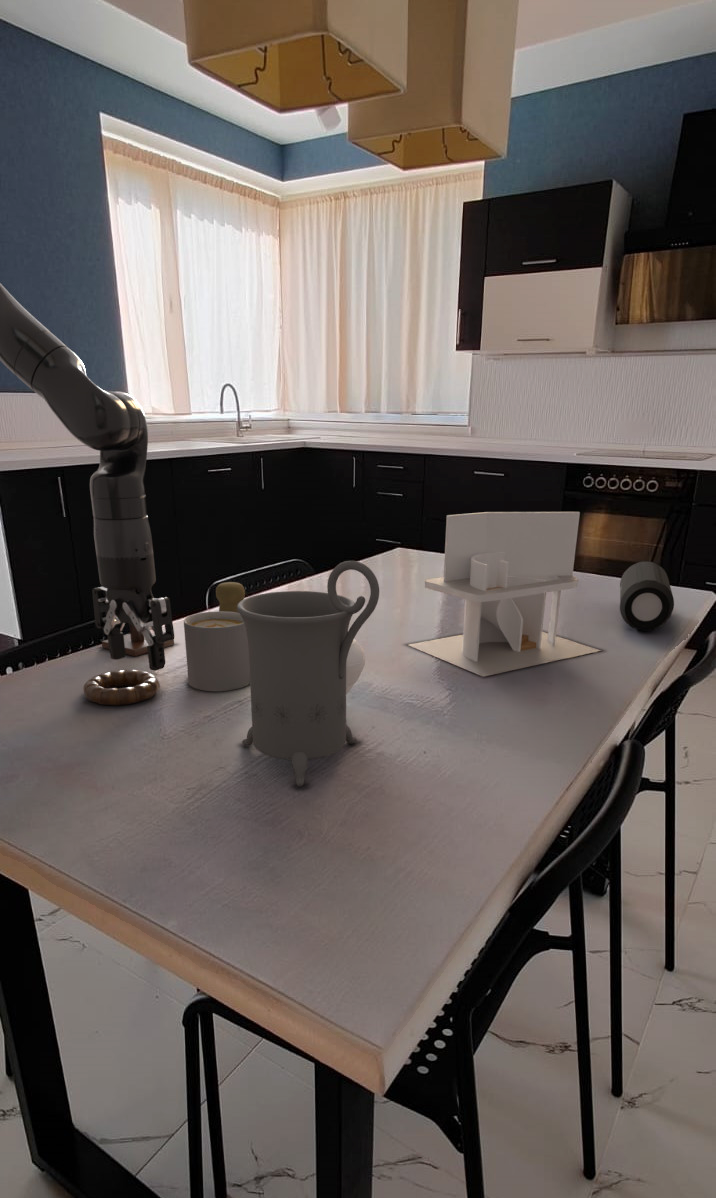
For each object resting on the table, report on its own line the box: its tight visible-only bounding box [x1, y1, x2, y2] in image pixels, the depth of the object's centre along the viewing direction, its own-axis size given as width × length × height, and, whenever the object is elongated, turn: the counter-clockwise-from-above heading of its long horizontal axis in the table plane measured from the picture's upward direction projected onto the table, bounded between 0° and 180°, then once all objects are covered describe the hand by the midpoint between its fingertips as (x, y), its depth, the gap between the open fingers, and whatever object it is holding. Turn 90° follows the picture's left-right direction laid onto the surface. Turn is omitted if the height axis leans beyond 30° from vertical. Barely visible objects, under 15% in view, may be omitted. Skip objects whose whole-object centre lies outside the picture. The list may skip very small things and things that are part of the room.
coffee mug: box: [183, 610, 250, 692], centre depth 122 cm, size 13×10×10 cm
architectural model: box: [408, 511, 602, 677], centre depth 136 cm, size 28×21×23 cm
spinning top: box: [346, 638, 366, 695], centre depth 110 cm, size 8×8×12 cm
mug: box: [237, 560, 380, 787], centre depth 91 cm, size 19×15×25 cm
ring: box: [82, 669, 161, 706], centre depth 116 cm, size 11×11×2 cm
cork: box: [215, 581, 246, 613], centre depth 140 cm, size 6×6×11 cm
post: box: [101, 623, 175, 657], centre depth 137 cm, size 9×9×12 cm
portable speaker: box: [619, 560, 675, 632], centre depth 159 cm, size 26×10×10 cm, turn 163°
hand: (137, 663), depth 112 cm, fingers open, 8 cm apart
